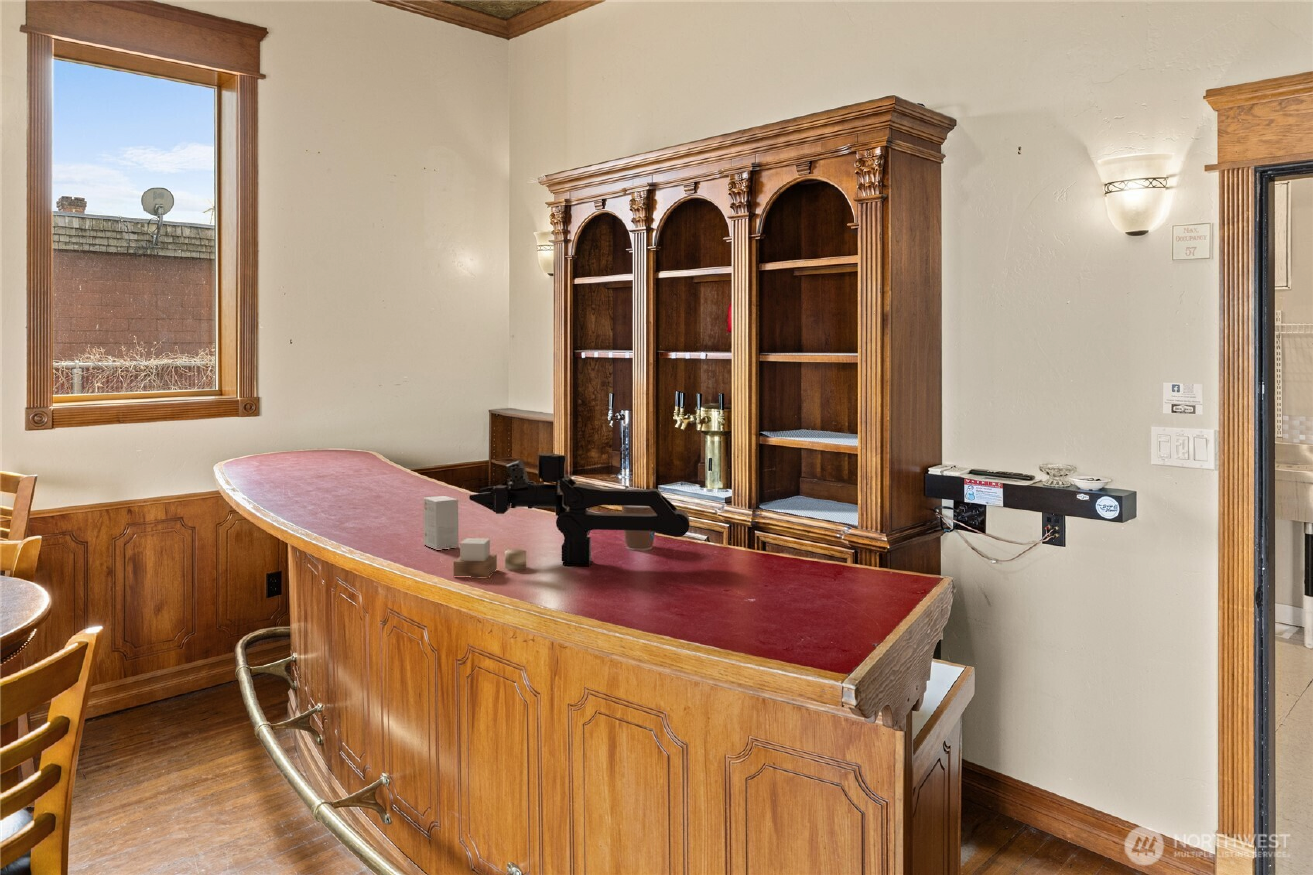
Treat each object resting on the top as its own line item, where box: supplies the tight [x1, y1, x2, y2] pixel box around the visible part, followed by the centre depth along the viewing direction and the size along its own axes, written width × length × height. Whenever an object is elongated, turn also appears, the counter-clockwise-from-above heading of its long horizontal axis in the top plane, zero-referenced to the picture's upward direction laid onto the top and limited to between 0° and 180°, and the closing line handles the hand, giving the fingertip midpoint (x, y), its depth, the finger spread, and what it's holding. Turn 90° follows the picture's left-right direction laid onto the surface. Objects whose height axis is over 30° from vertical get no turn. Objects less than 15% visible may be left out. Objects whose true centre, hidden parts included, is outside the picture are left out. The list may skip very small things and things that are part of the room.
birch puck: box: [504, 548, 527, 572], centre depth 199 cm, size 5×5×4 cm
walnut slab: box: [453, 553, 498, 579], centre depth 193 cm, size 8×8×4 cm
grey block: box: [459, 537, 491, 561], centre depth 192 cm, size 6×6×4 cm
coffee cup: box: [621, 506, 656, 551], centre depth 222 cm, size 10×10×12 cm
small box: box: [423, 495, 460, 549], centre depth 219 cm, size 8×6×13 cm
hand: (474, 494), depth 204 cm, fingers open, 9 cm apart
